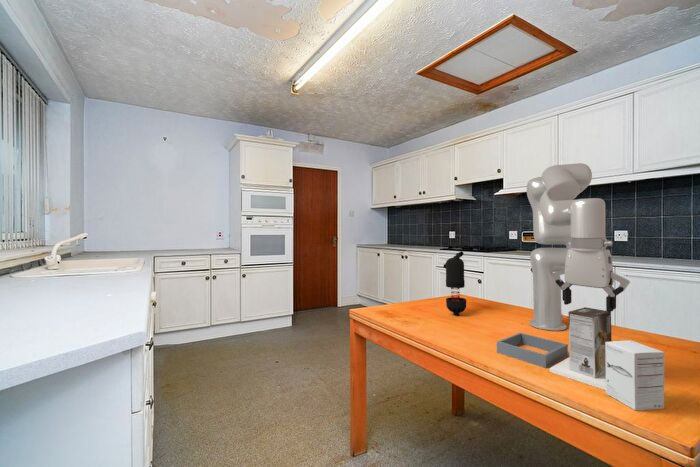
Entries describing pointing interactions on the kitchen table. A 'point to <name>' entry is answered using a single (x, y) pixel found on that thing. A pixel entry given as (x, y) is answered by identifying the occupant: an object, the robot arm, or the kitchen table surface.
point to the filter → (455, 283)
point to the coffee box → (589, 340)
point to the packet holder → (543, 360)
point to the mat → (578, 374)
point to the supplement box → (635, 374)
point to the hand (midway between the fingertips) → (588, 307)
